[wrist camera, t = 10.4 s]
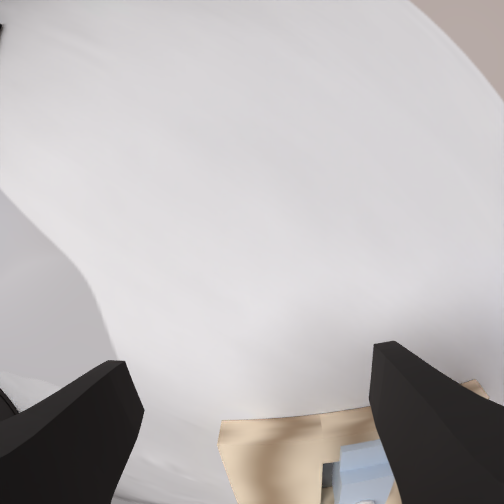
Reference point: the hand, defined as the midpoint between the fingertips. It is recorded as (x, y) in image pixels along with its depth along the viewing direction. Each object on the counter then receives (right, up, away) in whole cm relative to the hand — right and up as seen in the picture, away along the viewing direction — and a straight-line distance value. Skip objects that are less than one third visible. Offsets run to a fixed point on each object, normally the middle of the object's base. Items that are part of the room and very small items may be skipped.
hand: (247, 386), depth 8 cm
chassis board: (+9, -14, +13) cm, 21 cm away
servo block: (+9, -14, +13) cm, 21 cm away
